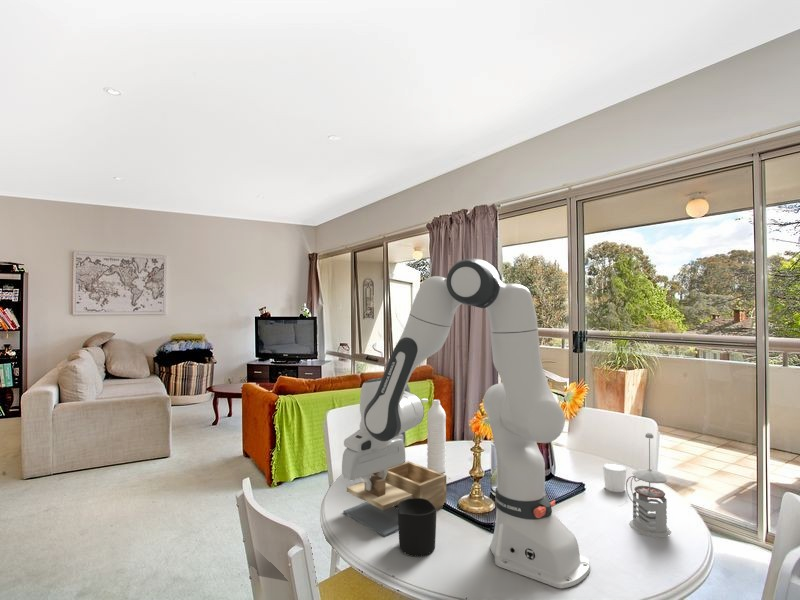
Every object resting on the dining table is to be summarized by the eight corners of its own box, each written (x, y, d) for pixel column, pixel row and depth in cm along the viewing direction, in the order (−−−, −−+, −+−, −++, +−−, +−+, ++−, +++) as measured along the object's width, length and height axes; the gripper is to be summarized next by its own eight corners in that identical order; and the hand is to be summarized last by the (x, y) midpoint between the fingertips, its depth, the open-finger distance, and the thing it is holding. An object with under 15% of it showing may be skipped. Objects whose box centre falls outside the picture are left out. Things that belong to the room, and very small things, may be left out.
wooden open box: (446, 506, 133) (446, 475, 133) (419, 518, 125) (419, 485, 125) (408, 489, 145) (408, 461, 145) (382, 499, 137) (382, 469, 137)
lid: (412, 498, 124) (412, 479, 124) (382, 510, 117) (383, 489, 117) (375, 482, 135) (375, 464, 135) (346, 491, 128) (346, 473, 128)
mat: (418, 521, 124) (418, 519, 124) (385, 536, 115) (385, 534, 115) (376, 500, 137) (376, 498, 137) (343, 512, 129) (343, 510, 129)
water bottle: (447, 468, 163) (447, 398, 163) (444, 475, 157) (443, 402, 157) (423, 466, 166) (423, 397, 166) (419, 472, 159) (419, 400, 159)
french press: (652, 540, 114) (652, 440, 114) (615, 520, 124) (614, 428, 125) (680, 533, 117) (680, 436, 117) (641, 513, 128) (641, 424, 128)
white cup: (622, 485, 148) (622, 463, 148) (629, 493, 142) (629, 471, 142) (600, 483, 149) (600, 462, 150) (606, 492, 143) (606, 469, 143)
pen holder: (441, 541, 113) (441, 501, 113) (429, 561, 104) (429, 518, 105) (406, 534, 117) (406, 495, 117) (391, 553, 108) (391, 511, 108)
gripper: (395, 427, 135) (395, 474, 134) (338, 441, 121) (338, 494, 120) (410, 432, 130) (410, 481, 130) (353, 447, 116) (352, 501, 116)
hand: (375, 487), depth 125 cm, fingers closed on lid, 2 cm apart
